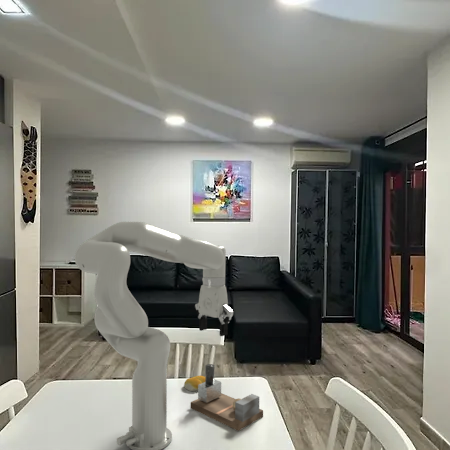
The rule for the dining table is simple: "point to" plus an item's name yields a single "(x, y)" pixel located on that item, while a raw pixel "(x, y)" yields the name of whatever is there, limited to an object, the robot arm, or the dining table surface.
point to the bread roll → (194, 383)
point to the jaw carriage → (209, 386)
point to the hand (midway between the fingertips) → (213, 332)
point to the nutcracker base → (231, 410)
